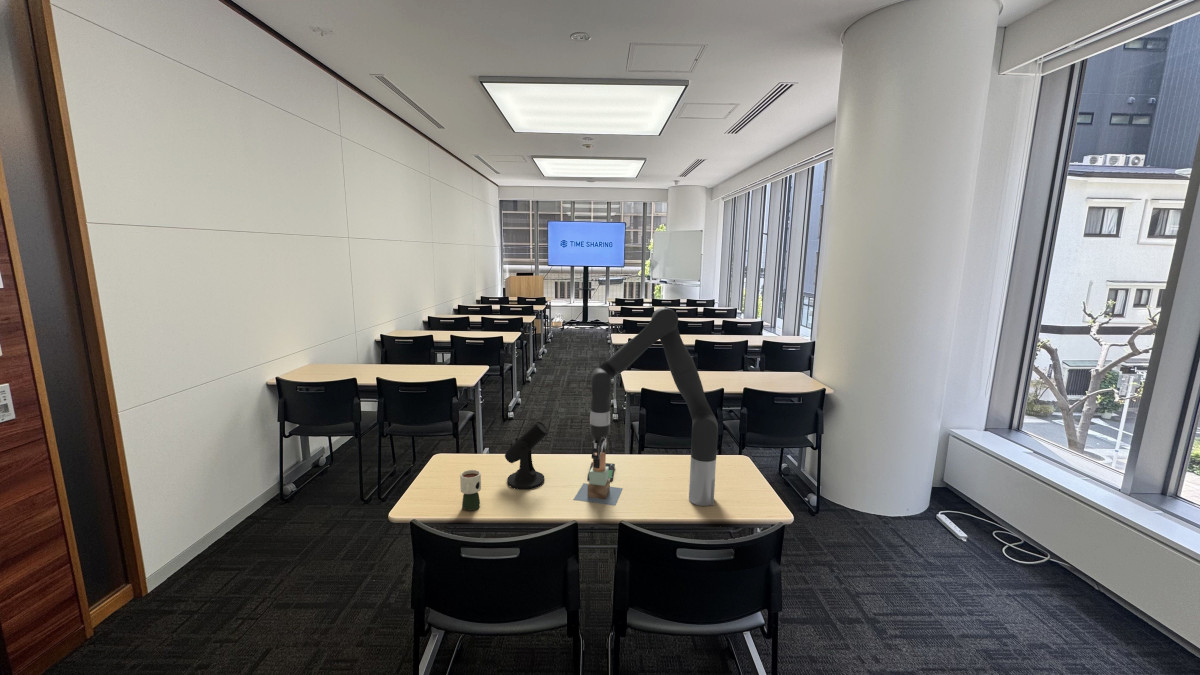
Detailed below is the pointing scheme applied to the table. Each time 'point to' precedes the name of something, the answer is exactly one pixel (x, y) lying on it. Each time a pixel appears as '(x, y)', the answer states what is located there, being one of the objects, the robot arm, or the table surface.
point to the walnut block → (599, 490)
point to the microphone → (526, 458)
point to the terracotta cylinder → (601, 462)
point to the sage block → (598, 477)
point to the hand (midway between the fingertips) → (599, 463)
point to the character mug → (470, 489)
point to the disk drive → (611, 470)
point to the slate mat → (610, 499)
